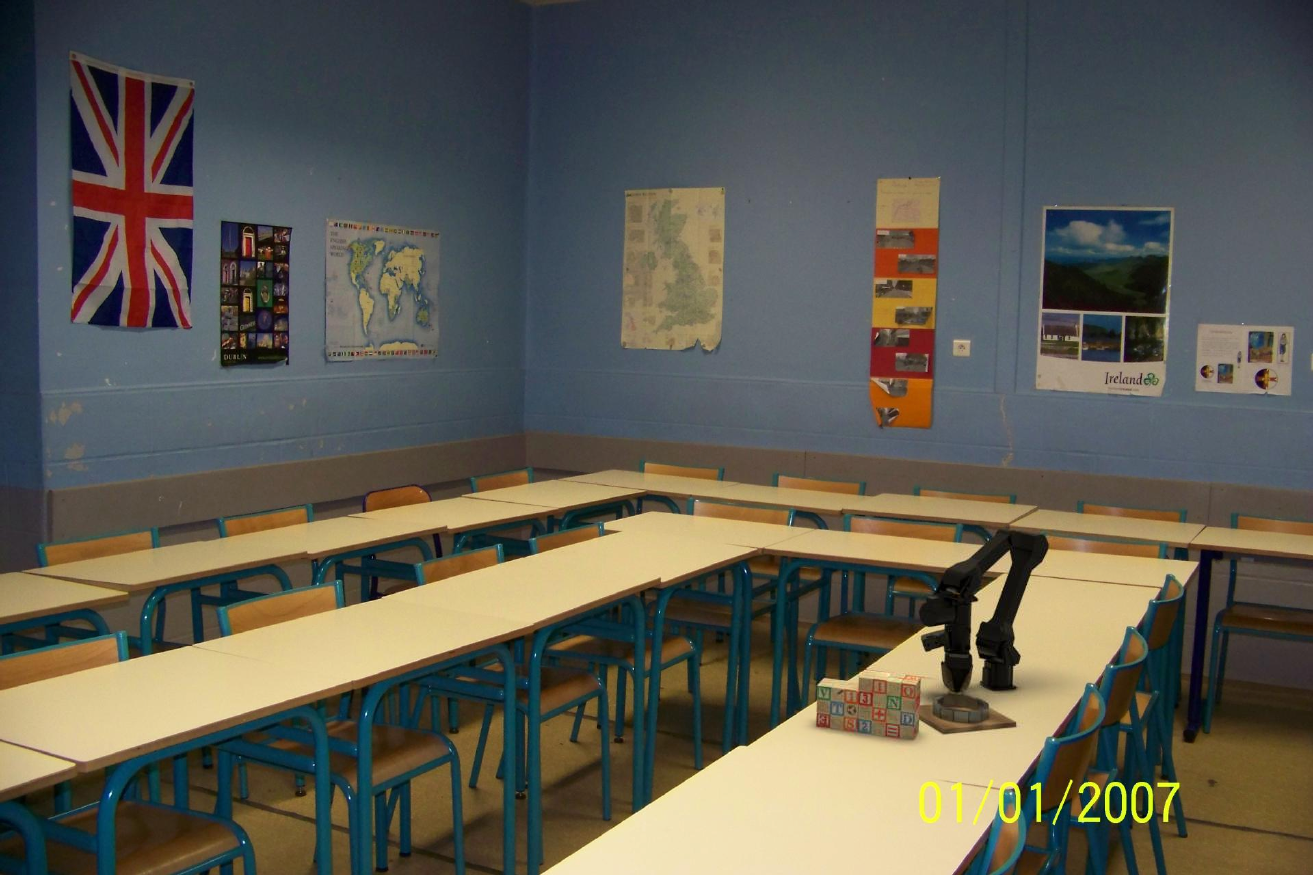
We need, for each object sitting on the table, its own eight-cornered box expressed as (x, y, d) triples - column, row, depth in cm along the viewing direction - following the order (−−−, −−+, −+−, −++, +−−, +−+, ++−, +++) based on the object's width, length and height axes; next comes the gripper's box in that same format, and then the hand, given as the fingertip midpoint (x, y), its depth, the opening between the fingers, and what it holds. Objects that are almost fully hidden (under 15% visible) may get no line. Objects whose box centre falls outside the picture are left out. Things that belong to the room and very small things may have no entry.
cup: (969, 691, 283) (970, 658, 282) (974, 701, 275) (975, 667, 275) (937, 690, 283) (938, 657, 283) (942, 699, 276) (943, 666, 275)
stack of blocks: (815, 726, 257) (816, 671, 255) (822, 718, 262) (824, 664, 261) (914, 740, 248) (916, 683, 247) (919, 731, 254) (921, 675, 253)
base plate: (975, 704, 273) (976, 700, 273) (1016, 726, 258) (1016, 721, 258) (906, 710, 268) (906, 706, 268) (943, 733, 252) (943, 729, 252)
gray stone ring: (969, 703, 270) (969, 693, 270) (999, 720, 259) (999, 709, 258) (922, 708, 266) (922, 697, 266) (950, 725, 255) (951, 713, 255)
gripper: (923, 610, 289) (921, 672, 290) (923, 628, 270) (921, 695, 272) (970, 613, 286) (968, 676, 287) (973, 632, 268) (971, 699, 269)
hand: (956, 686), depth 279 cm, fingers open, 9 cm apart
